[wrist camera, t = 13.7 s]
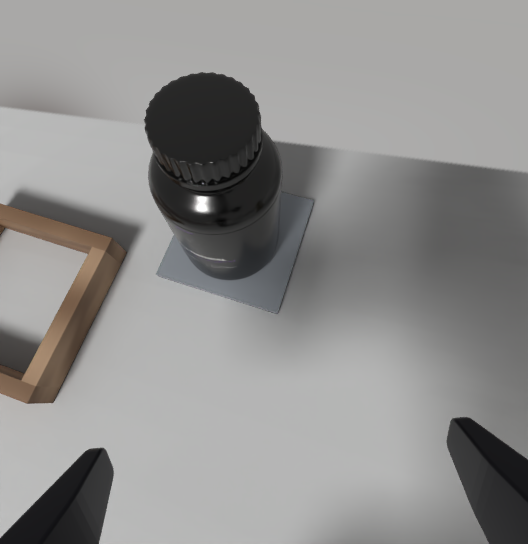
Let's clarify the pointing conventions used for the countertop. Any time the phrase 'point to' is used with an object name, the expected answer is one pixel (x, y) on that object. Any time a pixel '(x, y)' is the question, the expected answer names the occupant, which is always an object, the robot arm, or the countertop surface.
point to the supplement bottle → (215, 174)
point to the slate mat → (262, 285)
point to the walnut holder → (74, 310)
